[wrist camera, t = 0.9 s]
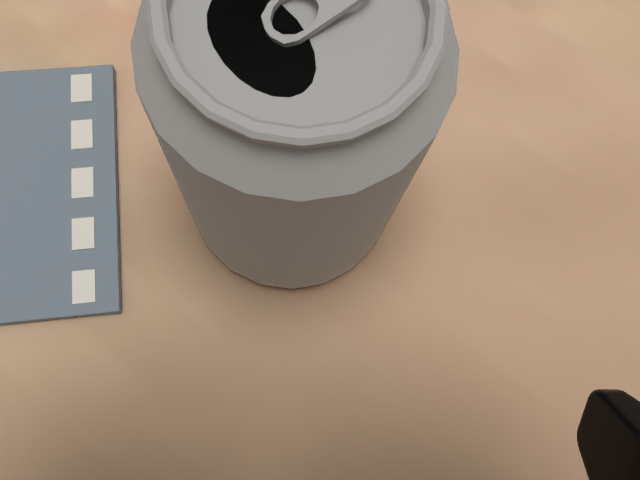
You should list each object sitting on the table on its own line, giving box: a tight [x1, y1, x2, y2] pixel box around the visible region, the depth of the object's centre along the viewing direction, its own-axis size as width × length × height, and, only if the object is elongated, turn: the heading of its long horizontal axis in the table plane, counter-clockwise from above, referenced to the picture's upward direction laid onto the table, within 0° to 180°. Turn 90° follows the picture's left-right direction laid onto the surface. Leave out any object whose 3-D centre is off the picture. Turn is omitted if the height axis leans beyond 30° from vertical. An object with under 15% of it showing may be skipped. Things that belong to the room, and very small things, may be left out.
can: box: [131, 0, 459, 289], centre depth 18 cm, size 8×8×12 cm
